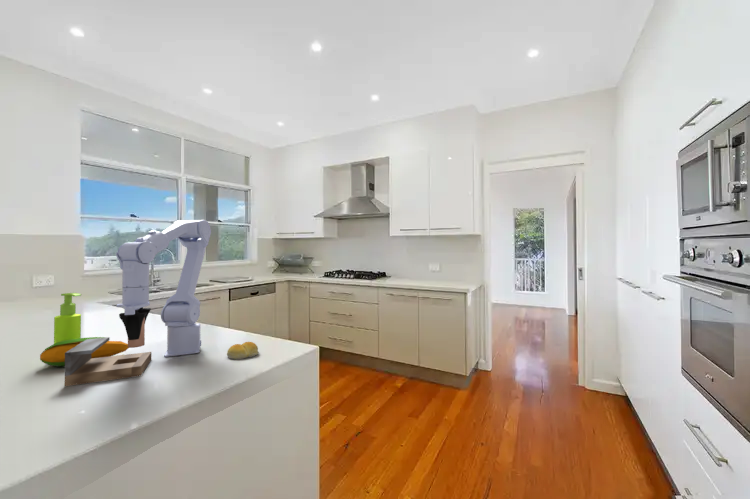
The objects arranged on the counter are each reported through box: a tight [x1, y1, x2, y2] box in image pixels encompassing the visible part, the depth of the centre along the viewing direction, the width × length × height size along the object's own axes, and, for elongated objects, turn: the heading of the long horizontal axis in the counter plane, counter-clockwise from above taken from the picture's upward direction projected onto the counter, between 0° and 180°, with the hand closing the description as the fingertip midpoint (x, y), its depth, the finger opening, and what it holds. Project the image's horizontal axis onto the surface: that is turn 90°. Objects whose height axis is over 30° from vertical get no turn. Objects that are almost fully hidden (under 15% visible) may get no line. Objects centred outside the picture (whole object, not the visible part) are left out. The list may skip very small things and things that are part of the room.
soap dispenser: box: [53, 292, 82, 344], centre depth 97 cm, size 6×7×20 cm
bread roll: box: [226, 341, 260, 360], centre depth 100 cm, size 8×9×4 cm
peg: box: [127, 317, 146, 349], centre depth 85 cm, size 4×4×8 cm
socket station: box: [63, 336, 152, 387], centre depth 86 cm, size 15×14×8 cm
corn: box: [39, 336, 129, 367], centre depth 94 cm, size 7×8×20 cm
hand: (135, 337), depth 85 cm, fingers closed on peg, 4 cm apart
